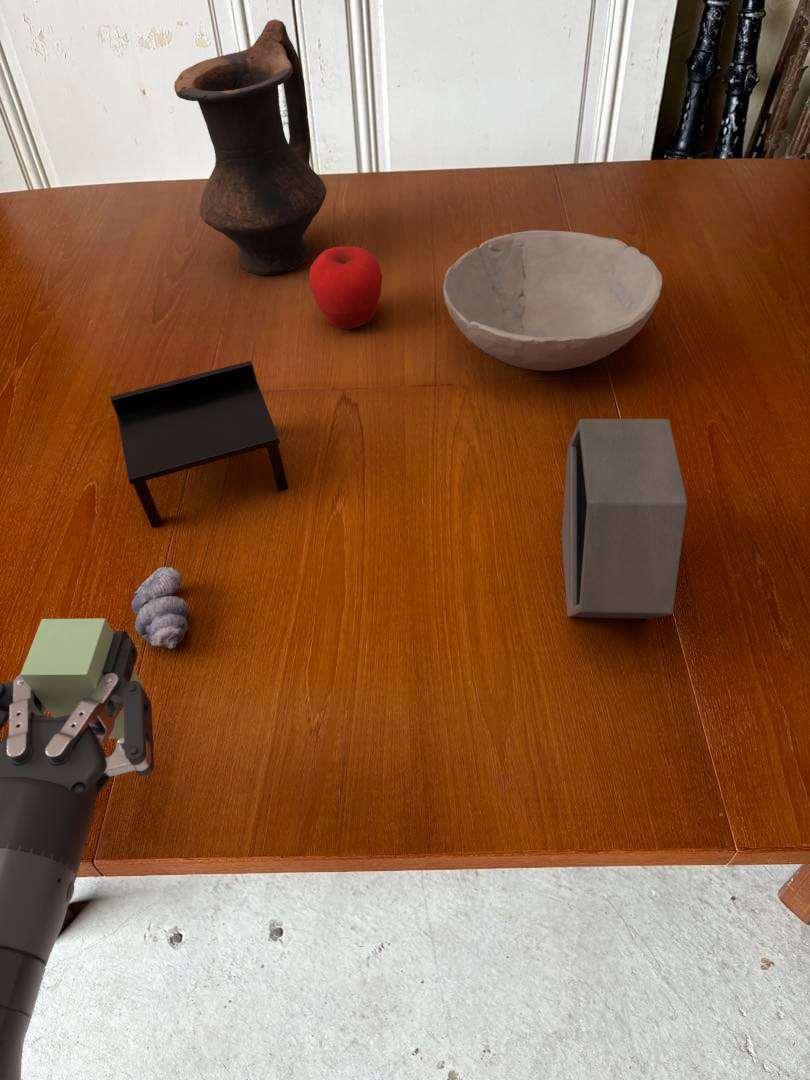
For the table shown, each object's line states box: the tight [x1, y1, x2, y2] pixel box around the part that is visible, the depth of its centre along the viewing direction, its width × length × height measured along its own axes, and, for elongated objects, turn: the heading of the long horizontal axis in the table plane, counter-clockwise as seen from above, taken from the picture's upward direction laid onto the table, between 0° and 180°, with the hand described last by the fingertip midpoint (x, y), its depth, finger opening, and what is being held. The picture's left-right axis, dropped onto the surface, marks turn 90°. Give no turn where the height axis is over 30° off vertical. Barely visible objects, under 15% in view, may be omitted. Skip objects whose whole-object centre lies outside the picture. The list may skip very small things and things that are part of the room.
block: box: [19, 617, 144, 740], centre depth 59 cm, size 5×5×9 cm
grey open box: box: [561, 418, 688, 620], centre depth 74 cm, size 17×8×21 cm
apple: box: [308, 245, 383, 330], centre depth 110 cm, size 10×10×11 cm
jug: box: [173, 18, 327, 276], centre depth 115 cm, size 21×18×30 cm
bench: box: [109, 360, 289, 529], centre depth 91 cm, size 16×12×10 cm
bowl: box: [442, 229, 663, 372], centre depth 104 cm, size 26×26×10 cm
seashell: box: [131, 566, 190, 650], centre depth 79 cm, size 5×5×10 cm
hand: (89, 638), depth 60 cm, fingers closed on block, 4 cm apart
